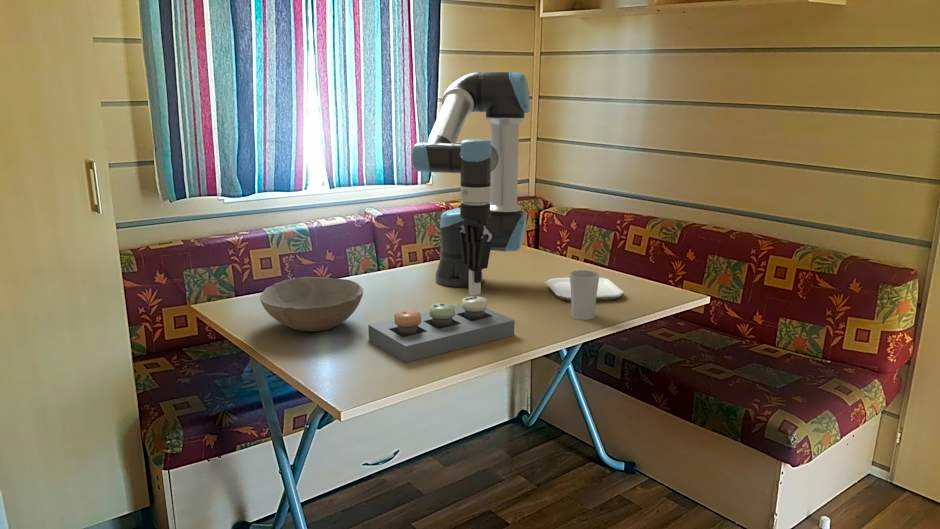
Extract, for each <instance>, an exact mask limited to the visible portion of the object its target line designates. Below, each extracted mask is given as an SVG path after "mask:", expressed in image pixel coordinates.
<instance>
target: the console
mask: <svg viewBox="0 0 940 529" xmlns="http://www.w3.org/2000/svg"><path fill="white" fill-rule="evenodd" d="M454 306H455V316H454V317H452V326H449V327H445V328H440V329H438V328H435V327H433V326H432V317H430V315H429V311H425V312H420V313H421V323H420V324H419V325H418V334H415V335H410V336H406V337H403V336H400V335H398V326H397V325H396V324H395V322H394V318H393V319H388V320H385V321H379V322H375V323H369V324H368V330H367V331H368V341H370V342H372V343H373V344H374V345H376V346H378V347H380V348H382V349H383V350H384V351H386V352H388V353H390V354H391V355H392V356H394V357H396V358H398V359H399V360H401V361H403V362H404V363H410V362H415V361H418V360H422V359H425V358H430V357H433V356H438V355H441V354H445V353H449V352H453V351H457V350H460V349H461V350H462V349H465V348H470V347H472V346H477V345H481V344H484V343H488V342H492V341H497V340H500V339H503V338H504V339H505V338H508V337H512V336H515V326H516V325H515V324H516V323H515V322H516V321H515V319H513V318H510V317H508V316H506V315H503V314H501V313H499V312H496V311H495V310H492V309H489V308H487V309H486V310H484V318H483V319H479V320H475V321H470V320H468V319H465V310H464V309H462V304H458V305H454Z"/></svg>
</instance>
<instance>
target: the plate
mask: <svg viewBox="0 0 940 529" xmlns="http://www.w3.org/2000/svg"><path fill="white" fill-rule="evenodd" d="M544 283H545V285H546V286H547V287H548V288H549V290H550V291H552V292H553V294H554V295H555V296H556V298H557V297H558V298H559V299H560V300H563V301H568V302H571V285H570V277H556V278H555V277H554V278H550V279H548V280H546V281H545V282H544ZM623 295H625V292H624V290H623V289H621V288H620V287H618V286H617V285H616V284H615V283H613V282H612V281H611V280H610V279H608V278H606V277H600V276H599V282H598V288H597V296H596V302H598V301H599V302H600V301H612V300H615V299H617V298H619V297H621V296H623Z"/></svg>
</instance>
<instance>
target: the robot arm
mask: <svg viewBox="0 0 940 529" xmlns="http://www.w3.org/2000/svg"><path fill="white" fill-rule="evenodd" d="M529 89H530V88H529V83H528V79H527V76H526V75H525V74H524V73H522V72H512V71H504V72H503V71H496V72H495V71H493V72H492V71H489V72H487V71H486V72H481V71H474V72H469V73H467V74H465V75H463V76H461V77H459V78H458V79H456V80H455V81H453V82H452V83H451V84H450V85H449V86H448V87H447V88H446V89H445V91H444V93H443V95H442V98H441V105H442V106H441V108H440V111H439V112H438V115H437V118H436V119H435V122H434V124H433V126H432V129H431V131H430V134H429V135H428V138H427V139H426V142H417V143H415V144H414V145H413V147H412V151H411V163H412V168H413V169H414V170H415V171H416V172H421V173H423V172H424V173H428V174H429V173H444V174H445V173H446V174H447V173H449V174H450V173H451V174H460V201H461V203H460V205H459V206H460V207H457V208H453V209H449V210H446V211H444V212H443V213H441V216H440V226H439V228H440V258H439V262H438V265H437V268H436V271H435V279H434V280H435V282H436V283H437V284H439V285H441V286H445V287H455V288H462V287H463V288H464V287H465V288H466V287H468V295H470V296H476V295H481V292H482V290H481V286H482V285H481V284H482V283H483V280H484V279H483V278H484V276H483V270H485V269H487V268H488V267H489V260H490V254H491V252H493V251H494V252H504V253H506V252H508V253H509V252H515V253H516V252H518V251H519V250H520V249H521V248H522V245H523V242H524V237H525V232H526V227H527V215H526V214H524V213H522V207H521V206H520V205H519V204H518V181H519V180H518V179H519V174H518V173H519V146H520V145H519V140H520V125H521V123H522V122H523V121H524V120H525V114H528V113H530V110H531V99H530V90H529ZM477 112H479V113H485V119H486V120H487V121H488V122H489V124H490V140H488V139H484V138H469V139H464V140H462V141H461V142H460V143H458V142H457V141H458V139H459V138H460V137H459V136H460V134H461V131H462V128H463V126H464V124H465V121H466V119H467V117H468V116H470V115H471V114H472V113H477Z"/></svg>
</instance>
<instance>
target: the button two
mask: <svg viewBox="0 0 940 529" xmlns="http://www.w3.org/2000/svg"><path fill="white" fill-rule="evenodd" d="M455 306H456V305H454V304H451V303H446V302H442V303H441V302H440V303H439V302H438V303H433V304H431V305H430V306H429V308H428V309H429V310H428V312H429V315H430V317H432V326H433V327H435V328H438V329H440V328H445V327H449V326H452V317H454V316H455Z"/></svg>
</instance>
